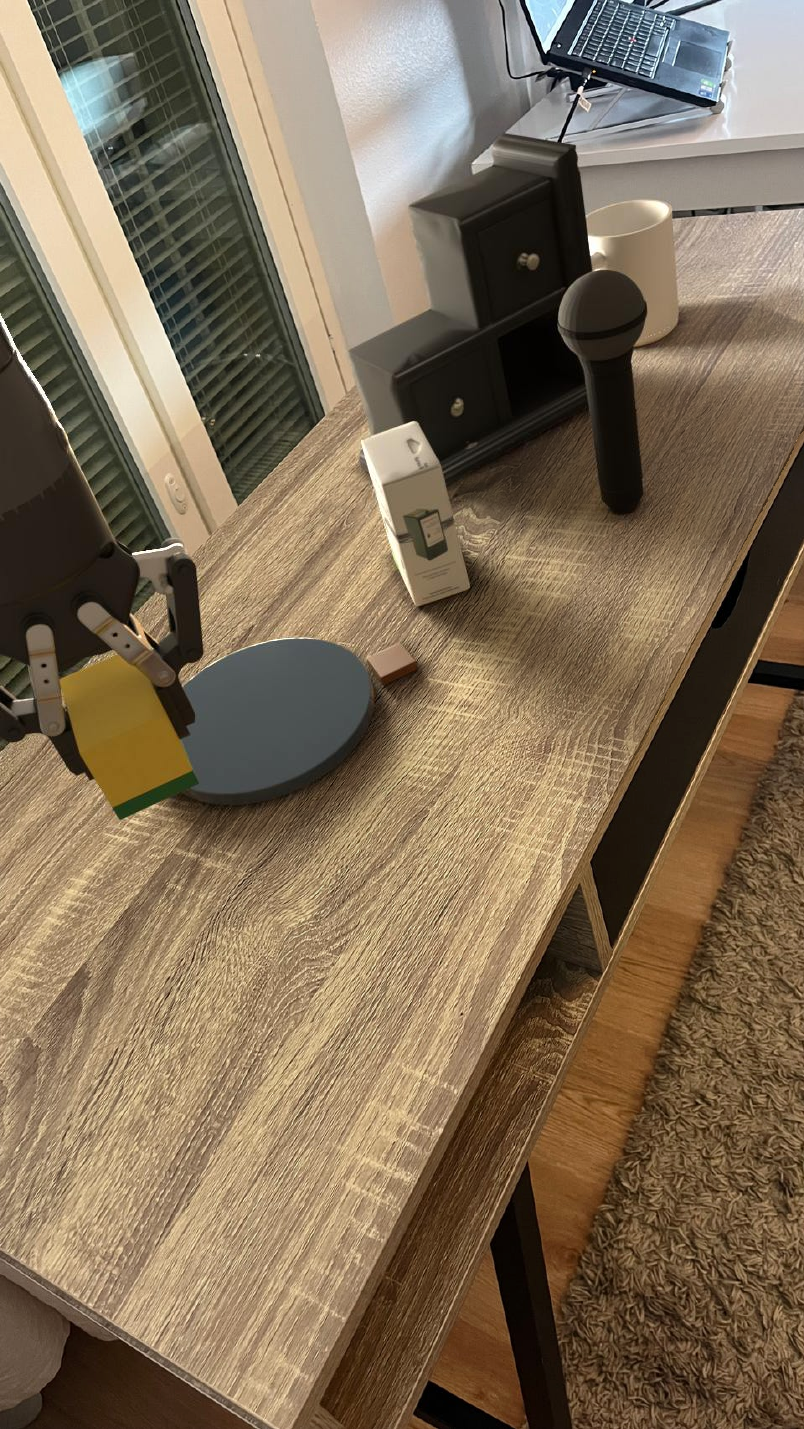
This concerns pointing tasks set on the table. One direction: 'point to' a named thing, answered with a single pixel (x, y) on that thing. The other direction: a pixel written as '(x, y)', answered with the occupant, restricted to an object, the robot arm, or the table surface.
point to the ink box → (416, 512)
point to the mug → (639, 256)
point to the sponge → (125, 736)
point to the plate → (274, 719)
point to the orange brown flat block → (392, 663)
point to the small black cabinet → (486, 311)
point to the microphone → (609, 376)
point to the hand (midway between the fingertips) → (137, 748)
